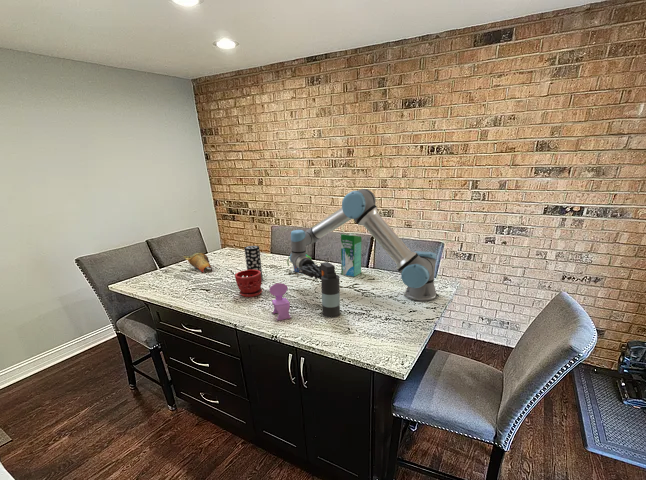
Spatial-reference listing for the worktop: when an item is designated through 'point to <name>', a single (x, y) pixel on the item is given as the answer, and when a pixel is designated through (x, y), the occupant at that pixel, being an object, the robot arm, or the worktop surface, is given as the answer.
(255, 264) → the white-spotted black cylinder
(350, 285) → the worktop surface
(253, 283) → the plant pot
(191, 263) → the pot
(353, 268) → the milk carton
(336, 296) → the spray bottle
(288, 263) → the snack cup
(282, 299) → the toy chair
